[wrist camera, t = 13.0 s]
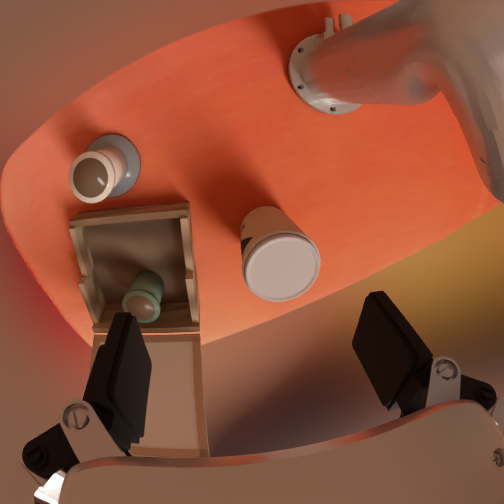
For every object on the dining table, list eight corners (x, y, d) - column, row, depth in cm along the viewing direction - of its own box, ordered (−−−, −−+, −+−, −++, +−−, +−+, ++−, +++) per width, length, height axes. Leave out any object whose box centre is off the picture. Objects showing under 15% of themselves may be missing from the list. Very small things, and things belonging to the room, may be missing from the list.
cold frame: (78, 212, 36) (58, 231, 30) (189, 201, 38) (184, 219, 32) (104, 306, 45) (94, 332, 39) (200, 303, 47) (199, 331, 41)
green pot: (132, 266, 41) (121, 288, 35) (167, 272, 42) (161, 296, 37) (131, 295, 43) (122, 319, 38) (164, 301, 45) (158, 326, 39)
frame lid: (86, 446, 26) (88, 447, 27) (208, 457, 28) (209, 456, 29) (94, 334, 39) (96, 336, 39) (199, 333, 41) (200, 335, 41)
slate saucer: (81, 140, 31) (79, 140, 31) (138, 129, 32) (136, 130, 32) (89, 198, 36) (87, 200, 35) (143, 192, 37) (142, 193, 36)
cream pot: (88, 148, 32) (65, 156, 25) (128, 141, 32) (110, 147, 26) (94, 189, 34) (72, 206, 28) (132, 184, 35) (116, 200, 29)
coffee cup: (226, 212, 40) (231, 250, 29) (287, 192, 40) (315, 222, 29) (245, 264, 44) (256, 313, 34) (300, 245, 44) (327, 289, 34)
